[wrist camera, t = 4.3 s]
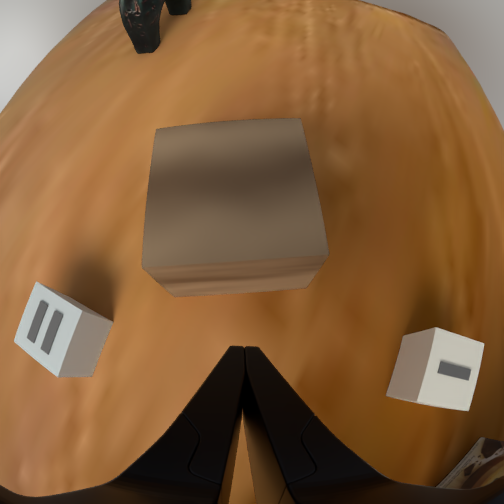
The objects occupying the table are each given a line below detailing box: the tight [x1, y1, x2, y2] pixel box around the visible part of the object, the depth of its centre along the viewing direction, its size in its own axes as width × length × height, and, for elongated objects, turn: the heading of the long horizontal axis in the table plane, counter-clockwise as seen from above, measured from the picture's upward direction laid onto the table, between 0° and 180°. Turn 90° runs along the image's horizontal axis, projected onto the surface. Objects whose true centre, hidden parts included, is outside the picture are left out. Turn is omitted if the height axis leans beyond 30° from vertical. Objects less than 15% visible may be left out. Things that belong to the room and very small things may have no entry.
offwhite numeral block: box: [386, 327, 484, 411], centre depth 18 cm, size 5×5×5 cm
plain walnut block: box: [142, 118, 329, 297], centre depth 21 cm, size 10×10×8 cm
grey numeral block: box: [14, 281, 113, 377], centre depth 19 cm, size 5×5×5 cm
